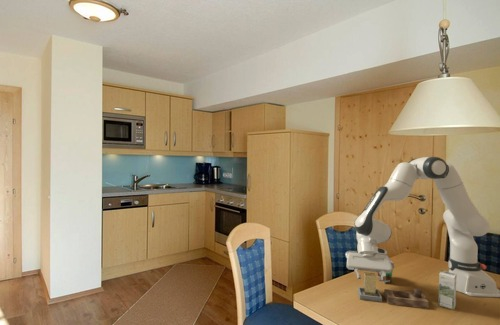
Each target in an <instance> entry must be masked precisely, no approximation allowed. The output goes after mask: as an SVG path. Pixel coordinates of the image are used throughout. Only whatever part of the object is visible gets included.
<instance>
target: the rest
mask: <svg viewBox="0 0 500 325" xmlns="http://www.w3.org/2000/svg"><path fill="white" fill-rule="evenodd" d="M357 292H358V298H359V300H361V301H370V302H377V303H378V302H379V303H382V302H383V297H382V295H381V292H380V289H378V288H376V290H375V296H368V295H364V287H360V286H359V287H357Z"/></svg>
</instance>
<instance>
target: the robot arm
mask: <svg viewBox="0 0 500 325" xmlns="http://www.w3.org/2000/svg"><path fill="white" fill-rule="evenodd" d="M417 179H418V180H430V179H432V180H433V182H434V183H435V186H436V189H437V190H438V194H439V196H440V199H441V202H442V203H443V204H444V206H446V208H447V209H445V211H444V212H443V214H442V218H443V221H444V223H445V225H446V229H447V233H448V234H447V235H448V237H449V243H450V244H449V257H448V272H451V273H456V274H457V280H456V292H459V293H463V294H465V295H467V296H470V297H484V298H485V297H486V298H500V289H499V288H498V287H497V283H496V281H495V279H493V277H491V275H489V274H487V272H485V271H484V270H486V269H487V267H488V266H487V265H485V264H484V263H481V262H479V261H478V256H479V255H478V254H479V253H478V250H479V249H478V248H479V247H478V244H477V243H476V240H475V238H474V237H482V236H485V235H486V234H488V233H489V230H490V223H489V221H488V219H487V218H485V217H484V216H483V215H482V214H481V213H480V211H479V209H478V208H477V207H476V205H475V204H474V202H473V201H472V199H471V197H470V196H469V194H468V192H467V190H466V188H465V185H464V181H463V180H462V178H461V176H460V173H459V172H458V170H457V169H456V168H455V167H454V165H453V164H450V163H447V162H446V161H445V160H444V159H443V158H440V157H439V156H424V157H418V158H413V159H411V160H410V161H408V162H405V161H404V162H400V163H397V165H396V166H395V167H394V169H393V171H392V173H391V175H390V177H389V179H388V181H387V182H386V183H385V184H384V185H383V186H380V187H379V188H378V189H377V190H376V191H375V192H374V194H373V195H372V196H371V198H370V199H369V201H368V203H367V204H366V206H365V207H364V209H363V210H362V211H361V212H360V213H359V215H358V216H357V217H356V218H355V219H354V220H355V221H354V228H355V230H356V234H355V235H356V241H357V245H356V247H357V250H348V251H346V252H345V258H346V269H348V270H352V271H353V270H354V271H353V272H354V273H355V275H356V278H357V280H361V279H362V274H361V273H359V271H360V272H361V271H363V272H370V273H377V272H380V273H381V276H379V277H378V281H379V282H383V276H384V273H390V272H391V271H392V265H391V261H392V260H391V259H390V256H388V251H387V249H384V248H381V247H378V246H377V244H378V245H379V244H383V243H386V242H388V241H390V239H391V237H392V233H393V232H392V228H391V226H390V225H388V224H387V223H385V222H383V221H381V220H379V219H377V218H375V215H376V214H377V212H378V211H379V210H380V209H381V206H382V205H383V204H384V203H386V202H388V201H392V202H393V201H394V202H395V201H396V202H397V201H399V202H400V201H403V200H405V199H407V198H408V197H409V195H410V194H411V191H412V189H413V187H414V185H415V183H416V181H417ZM390 260H391V261H390ZM392 272H393V271H392Z"/></svg>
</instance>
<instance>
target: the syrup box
mask: <svg viewBox="0 0 500 325" xmlns="http://www.w3.org/2000/svg"><path fill="white" fill-rule="evenodd" d="M456 280H457V274H456V273H451V272H449V271H446V270H441V271H440V272H439V275H438V306H439V307H442V308H445V309H448V310H452V311H454V310H455V308H456V305H457V300H456V299H457V291H456Z"/></svg>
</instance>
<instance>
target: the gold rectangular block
mask: <svg viewBox="0 0 500 325" xmlns="http://www.w3.org/2000/svg"><path fill="white" fill-rule="evenodd" d="M363 272H364V273H363V288H364V295H368V296H375V290H376V289H377V286H376V282H377V280H376V279H377V278H376V277H377V275H376V273H375V272H367V271H363Z"/></svg>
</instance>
